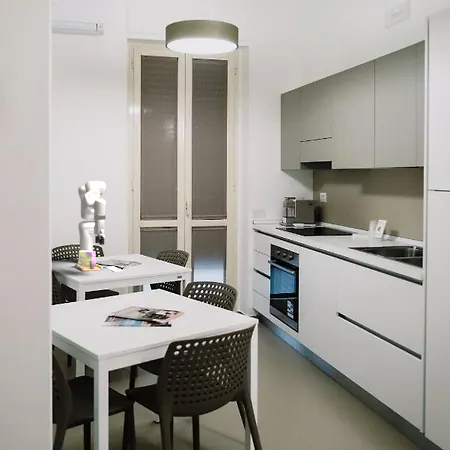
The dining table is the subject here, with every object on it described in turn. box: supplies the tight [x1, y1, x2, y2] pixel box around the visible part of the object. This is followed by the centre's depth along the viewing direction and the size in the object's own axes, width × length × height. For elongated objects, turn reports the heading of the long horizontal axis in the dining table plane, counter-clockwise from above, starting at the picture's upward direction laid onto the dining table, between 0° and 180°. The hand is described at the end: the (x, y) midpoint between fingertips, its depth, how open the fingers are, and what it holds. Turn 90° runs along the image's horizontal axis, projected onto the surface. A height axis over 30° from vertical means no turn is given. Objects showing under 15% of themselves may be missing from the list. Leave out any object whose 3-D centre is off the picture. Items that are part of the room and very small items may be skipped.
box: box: [78, 250, 96, 266], centre depth 419 cm, size 10×6×12 cm, turn 79°
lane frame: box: [74, 261, 104, 272], centre depth 416 cm, size 20×14×6 cm
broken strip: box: [105, 266, 123, 273], centre depth 413 cm, size 20×6×1 cm, turn 28°
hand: (99, 243), depth 391 cm, fingers open, 9 cm apart
